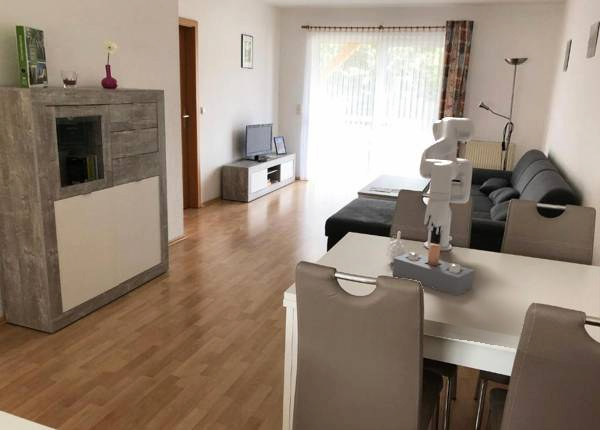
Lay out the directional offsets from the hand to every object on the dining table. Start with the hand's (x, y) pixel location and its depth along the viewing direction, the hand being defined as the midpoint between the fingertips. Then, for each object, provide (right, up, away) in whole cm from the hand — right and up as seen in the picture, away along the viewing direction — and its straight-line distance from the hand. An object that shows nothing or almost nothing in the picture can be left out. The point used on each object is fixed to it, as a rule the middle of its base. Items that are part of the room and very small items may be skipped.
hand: (435, 243), depth 192 cm
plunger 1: (-7, -12, +10) cm, 17 cm away
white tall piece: (-11, -10, +24) cm, 28 cm away
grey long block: (0, -15, +4) cm, 15 cm away
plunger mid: (0, -9, +2) cm, 9 cm away
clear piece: (+6, -16, -3) cm, 17 cm away
